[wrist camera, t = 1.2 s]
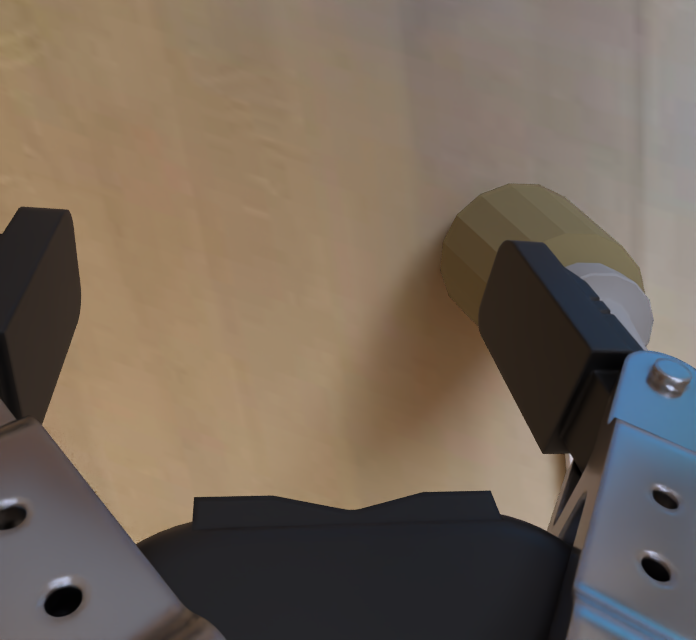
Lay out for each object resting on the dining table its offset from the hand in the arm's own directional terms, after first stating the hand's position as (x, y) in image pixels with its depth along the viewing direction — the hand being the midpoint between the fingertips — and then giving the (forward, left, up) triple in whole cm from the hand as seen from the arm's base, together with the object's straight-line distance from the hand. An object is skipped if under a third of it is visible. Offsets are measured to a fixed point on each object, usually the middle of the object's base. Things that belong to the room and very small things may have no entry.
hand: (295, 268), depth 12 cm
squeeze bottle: (+3, +12, -25) cm, 27 cm away
